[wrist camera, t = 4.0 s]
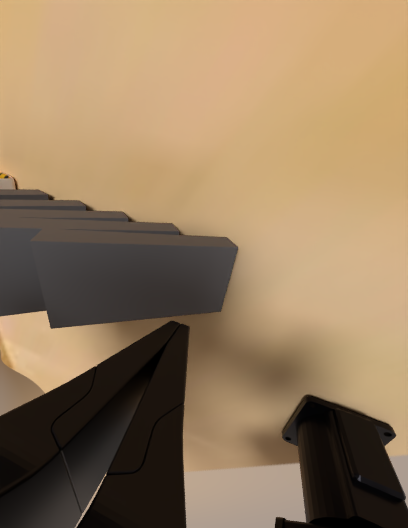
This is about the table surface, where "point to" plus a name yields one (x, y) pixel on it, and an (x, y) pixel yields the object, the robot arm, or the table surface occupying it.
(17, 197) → the domino
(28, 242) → the domino
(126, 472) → the robot arm
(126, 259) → the domino
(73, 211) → the domino
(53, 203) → the domino
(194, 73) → the table surface
